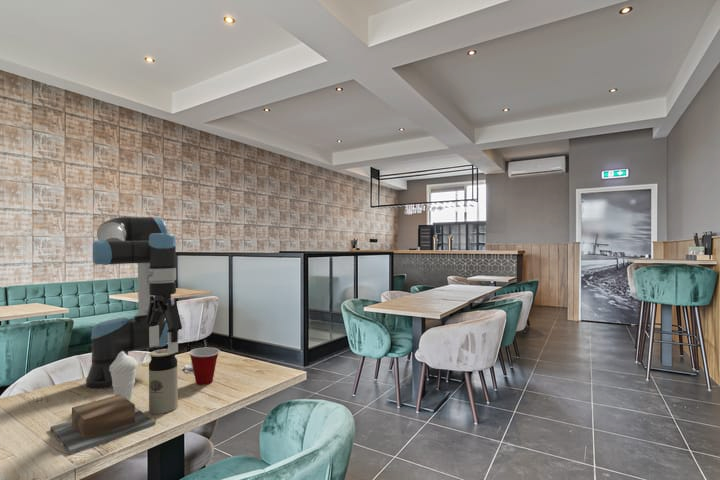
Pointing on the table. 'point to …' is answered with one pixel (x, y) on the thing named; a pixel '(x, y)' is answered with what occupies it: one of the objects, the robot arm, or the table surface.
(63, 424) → the base
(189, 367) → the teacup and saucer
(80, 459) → the table surface
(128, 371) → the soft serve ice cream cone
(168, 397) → the travel mug
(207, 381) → the plastic cup
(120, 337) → the robot arm
